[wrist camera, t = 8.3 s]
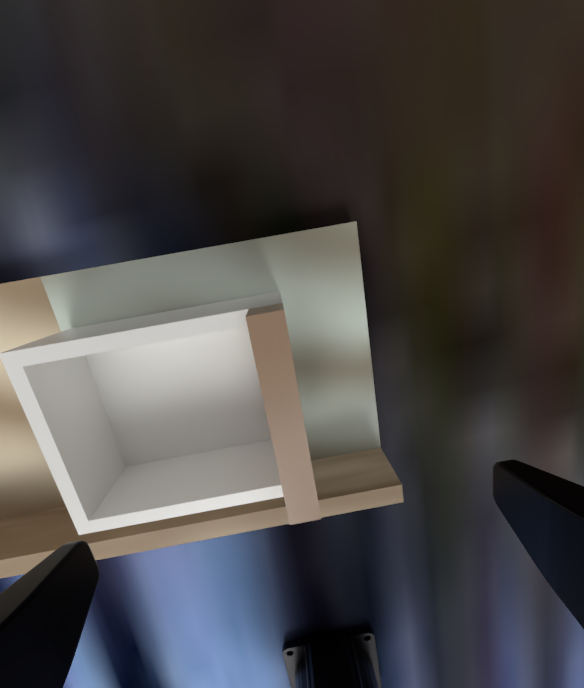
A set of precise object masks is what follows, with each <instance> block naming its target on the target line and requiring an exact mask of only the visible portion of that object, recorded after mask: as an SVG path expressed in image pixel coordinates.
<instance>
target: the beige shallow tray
mask: <svg viewBox="0 0 584 688" xmlns="http://www.w3.org/2000/svg"><path fill="white" fill-rule="evenodd" d="M279 291H280V295H281V299H282V303H283V307H284V312H285V317H286V323H287V329H288V334H289V340H290V345H291V351H292V357H293V362H294V368H295V374H296V379H297V385H298V390H299V396H300V402H301V407H302V413H303V418H304V424H305V430H306V435H307V441H308V447H309V452H310V458H311V463H312V469H313V475H314V480H315V486H316V491H317V497H318V503H319V508H320V514H321V518H322V517H327V516H333V515H338V514H343V513H348V512H354V511H359V510H364V509H370V508H375V507H380V506H385V505H391V504H396V503H401V502H404V501H403V490H402V484H401V482H400V480H399V478H398V477H397V475H396V473H395V471H394V470H393V468H392V466H391V465H390V463H389V461H388V459H387V458H386V456H385V454H384V452H383V451H382V449H381V445H380V436H379V426H378V417H377V408H376V398H375V389H374V380H373V370H372V361H371V352H370V343H369V333H368V324H367V315H366V305H365V296H364V287H363V277H362V268H361V259H360V249H359V240H358V231H357V221H355V222H350V223H344V224H338V225H332V226H327V227H321V228H315V229H310V230H304V231H298V232H293V233H287V234H281V235H275V236H270V237H264V238H258V239H253V240H247V241H241V242H236V243H230V244H224V245H219V246H213V247H207V248H201V249H196V250H190V251H184V252H179V253H173V254H167V255H162V256H156V257H150V258H144V259H139V260H133V261H127V262H122V263H116V264H110V265H105V266H99V267H93V268H87V269H82V270H76V271H70V272H65V273H59V274H53V275H48V276H42V277H36V278H31V279H25V280H19V281H13V282H8V283H2V284H0V353H2V352H5V351H8V350H10V349H13V348H16V347H19V346H22V345H25V344H28V343H30V342H33V341H36V340H39V339H42V338H45V337H47V336H50V335H53V334H56V333H59V332H62V331H65V330H67V329H71V328H77V327H82V326H88V325H94V324H99V323H105V322H110V321H116V320H122V319H127V318H133V317H138V316H144V315H150V314H155V313H161V312H166V311H172V310H178V309H183V308H189V307H195V306H200V305H206V304H211V303H217V302H223V301H228V300H234V299H239V298H245V297H251V296H256V295H262V294H268V293H273V292H279ZM285 524H289V519H288V514H287V510H286V505H285V500H284V497H280V498H274V499H269V500H264V501H258V502H253V503H248V504H242V505H237V506H232V507H226V508H221V509H216V510H210V511H205V512H200V513H194V514H189V515H184V516H178V517H173V518H168V519H162V520H157V521H152V522H147V523H141V524H136V525H131V526H125V527H120V528H115V529H109V530H104V531H99V532H93V533H88V534H83V535H79V534H78V532H77V530H76V528H75V525H74V523H73V521H72V519H71V516H70V514H69V512H68V510H67V507H66V505H65V503H64V501H63V498H62V496H61V494H60V491H59V489H58V487H57V485H56V482H55V480H54V478H53V476H52V473H51V471H50V469H49V467H48V464H47V462H46V460H45V458H44V455H43V453H42V451H41V449H40V446H39V444H38V442H37V439H36V437H35V435H34V433H33V430H32V428H31V426H30V424H29V421H28V419H27V417H26V415H25V412H24V410H23V408H22V406H21V403H20V401H19V399H18V397H17V394H16V392H15V390H14V387H13V385H12V383H11V381H10V378H9V376H8V374H7V372H6V369H5V367H4V365H3V363H2V360H1V358H0V578H5V577H10V576H15V575H21V574H26V573H27V572H29V571H30V570H31V569H32V568H34V567H35V566H36V565H37V564H39V563H40V562H41V561H43V560H44V559H45V558H46V557H48V556H49V555H50V554H51V553H53V552H54V551H55V550H56V549H58V548H59V547H60V546H62V545H64V544H66V543H70V542H75V541H81V540H82V541H86V542H87V543H88V544H89V546H90V549H91V551H92V553H93V556H94V558H95V560H100V559H105V558H111V557H116V556H121V555H126V554H132V553H137V552H142V551H148V550H153V549H158V548H163V547H169V546H174V545H179V544H185V543H190V542H195V541H200V540H206V539H211V538H216V537H222V536H227V535H232V534H237V533H243V532H248V531H253V530H259V529H264V528H269V527H274V526H280V525H285Z"/></svg>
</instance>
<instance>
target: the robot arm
mask: <svg viewBox="0 0 584 688" xmlns="http://www.w3.org/2000/svg"><path fill="white" fill-rule="evenodd" d="M493 496H494V499H495V502H496V504H497V506H498V507H499V509H500V510H501V512H502V514H503V515H504V517H505V518H506V520H507V521H508V523H509V524H510V526H511V527H512V529H513V530H514V532H515V533H516V535H517V537H518V538H519V540H520V541H521V543H522V544H523V546H524V547H525V549H526V550H527V552H528V553H529V555H530V557H531V558H532V560H533V561H534V563H535V564H536V566H537V567H538V569H539V570H540V572H541V573H542V575H543V576H544V577H545V579H546V580H547V582H548V583H549V584H550V586H551V587H552V588H553V590H554V591H555V592H556V594H557V595H558V596H559V598H560V599H561V600H562V602H563V603H564V604H565V605H566V607H567V608H568V609H569V611H570V612H571V613H572V614H573V616H574V617H575V618H576V620H577V621H578V622H579V624H580V625H581V626H582V627H583V629H584V486H581V485H578V484H576V483H573V482H571V481H568V480H566V479H563V478H561V477H558V476H555V475H553V474H550V473H548V472H545V471H543V470H540V469H538V468H535V467H532V466H530V465H527V464H525V463H522V462H520V461H517V460H507V461H501V462H497V463H495V464H494V466H493ZM98 580H99V567H98V565H97V562H96V560H95V558H94V556H93V553H92V551H91V549H90V546H89V544H88V543H87V542H86V541H82V540H81V541H75V542H70V543H66V544H64V545H62V546H60V547H59V548H58V549H56V550H55V551H54V552H53V553H51V554H50V555H49V556H48V557H46V558H45V559H44V560H43V561H41V562H40V563H39V564H37V565H36V566H35V567H34V568H32V569H31V570H30V571H29V572H27V573H26V574H25V575H23V576H22V577H21V578H20V579H18V580H17V581H16V582H15V583H13V584H12V585H11V586H10V587H8V588H7V589H6V590H4V591H3V592H2V593H1V594H0V688H63V685H64V683H65V680H66V678H67V675H68V672H69V670H70V667H71V664H72V661H73V658H74V655H75V652H76V649H77V646H78V643H79V640H80V637H81V634H82V630H83V627H84V624H85V621H86V618H87V615H88V612H89V609H90V606H91V603H92V599H93V596H94V593H95V590H96V587H97V584H98ZM283 657H284V661H285V665H286V669H287V673H288V677H289V681H290V685H291V688H382V687H381V680H380V673H379V666H378V659H377V651H376V644H375V637H374V633H373V630H372V628H371V627H361V628H356V629H351V630H345V631H340V632H335V633H330V634H325V635H320V636H315V637H309V638H304V639H299V640H294V641H289V642H286V643H285V644H284V645H283Z"/></svg>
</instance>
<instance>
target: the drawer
mask: <svg viewBox="0 0 584 688" xmlns="http://www.w3.org/2000/svg"><path fill="white" fill-rule="evenodd" d="M0 358H1V360H2V363H3V365H4V367H5V369H6V372H7V374H8V376H9V378H10V381H11V383H12V385H13V387H14V390H15V392H16V394H17V397H18V399H19V401H20V403H21V406H22V408H23V410H24V412H25V415H26V417H27V419H28V421H29V424H30V426H31V428H32V430H33V433H34V435H35V437H36V439H37V442H38V444H39V446H40V449H41V451H42V453H43V455H44V458H45V460H46V462H47V464H48V467H49V469H50V471H51V473H52V476H53V478H54V480H55V482H56V485H57V487H58V489H59V491H60V494H61V496H62V498H63V501H64V503H65V505H66V507H67V510H68V512H69V514H70V516H71V519H72V521H73V523H74V525H75V528H76V530H77V532H78V534H79V535H83V534H88V533H93V532H99V531H104V530H109V529H115V528H120V527H125V526H131V525H136V524H141V523H147V522H152V521H157V520H162V519H168V518H173V517H178V516H184V515H189V514H194V513H200V512H205V511H210V510H216V509H221V508H226V507H232V506H237V505H242V504H248V503H253V502H258V501H264V500H269V499H274V498H280V497H284V500H285V505H286V510H287V514H288V519H289V524H290V525H293V524H298V523H303V522H309V521H314V520H319V519H321V514H320V508H319V503H318V497H317V491H316V486H315V480H314V475H313V469H312V463H311V458H310V452H309V447H308V441H307V435H306V430H305V424H304V418H303V413H302V407H301V402H300V396H299V390H298V385H297V379H296V374H295V368H294V362H293V357H292V351H291V345H290V340H289V334H288V329H287V323H286V317H285V312H284V307H283V303H282V299H281V295H280V291H279V292H273V293H268V294H262V295H256V296H251V297H245V298H239V299H234V300H228V301H223V302H217V303H211V304H206V305H200V306H195V307H189V308H183V309H178V310H172V311H166V312H161V313H155V314H150V315H144V316H138V317H133V318H127V319H122V320H116V321H110V322H105V323H99V324H94V325H88V326H82V327H77V328H71V329H67V330H65V331H62V332H59V333H56V334H53V335H50V336H47V337H45V338H42V339H39V340H36V341H33V342H30V343H28V344H25V345H22V346H19V347H16V348H13V349H10V350H8V351H5V352H2V353H0Z"/></svg>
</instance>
